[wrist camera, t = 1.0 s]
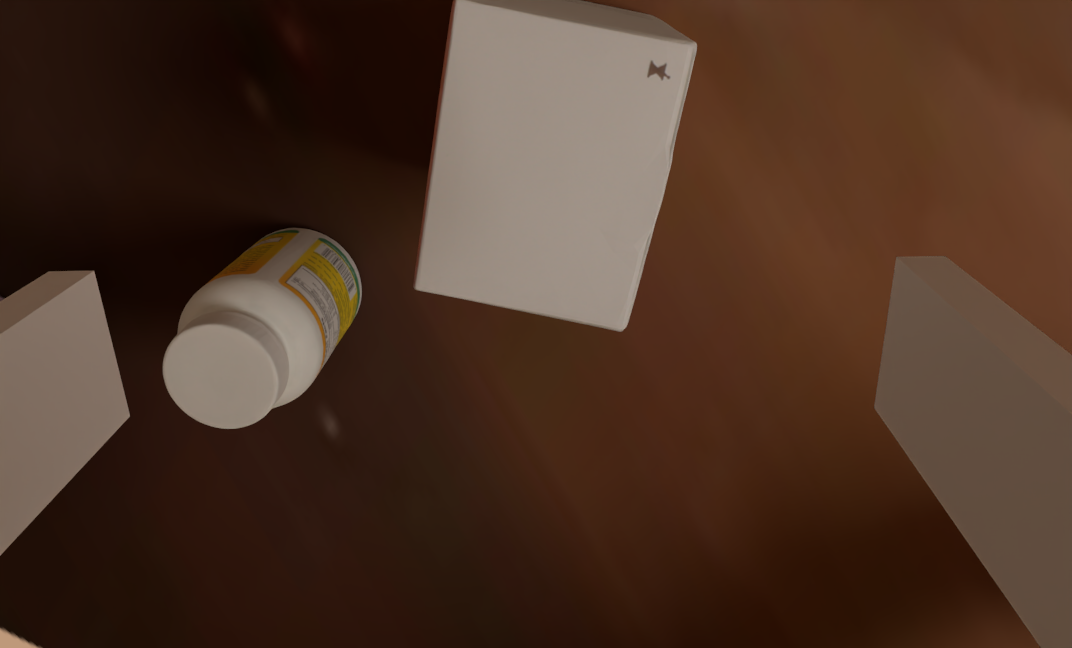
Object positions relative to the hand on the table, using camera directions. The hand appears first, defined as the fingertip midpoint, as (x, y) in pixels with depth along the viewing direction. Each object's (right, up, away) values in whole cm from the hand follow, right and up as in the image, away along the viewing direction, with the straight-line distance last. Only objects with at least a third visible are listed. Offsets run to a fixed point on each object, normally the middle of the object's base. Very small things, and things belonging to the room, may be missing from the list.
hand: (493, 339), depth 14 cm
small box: (+2, +9, +20) cm, 22 cm away
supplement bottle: (-10, +2, +24) cm, 26 cm away
